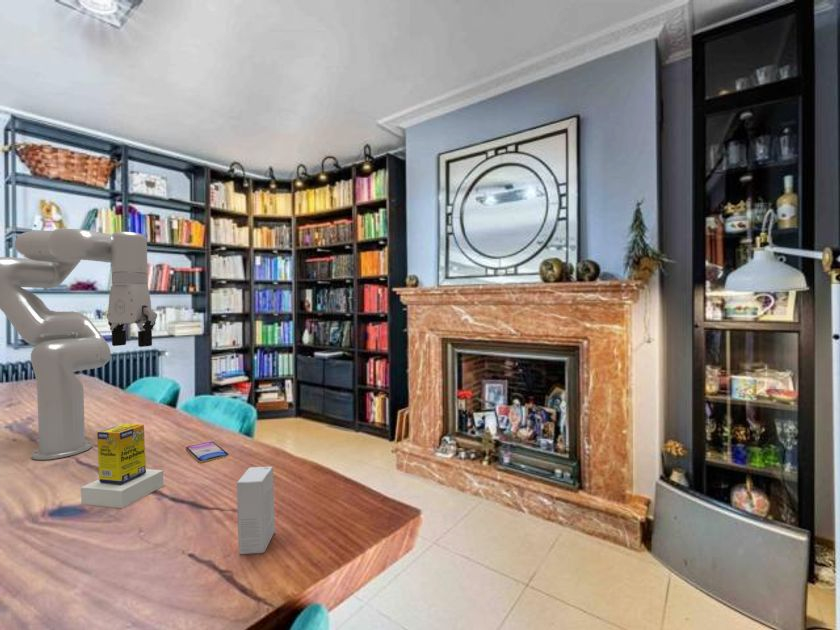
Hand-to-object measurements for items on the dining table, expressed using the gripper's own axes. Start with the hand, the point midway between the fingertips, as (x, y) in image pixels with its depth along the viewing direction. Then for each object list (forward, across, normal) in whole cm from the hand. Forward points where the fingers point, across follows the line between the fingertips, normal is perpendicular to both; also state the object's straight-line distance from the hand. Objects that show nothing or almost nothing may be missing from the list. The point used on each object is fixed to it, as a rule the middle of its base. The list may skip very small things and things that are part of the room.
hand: (132, 345), depth 102 cm
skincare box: (+31, +57, -19) cm, 67 cm away
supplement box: (+27, +17, -14) cm, 35 cm away
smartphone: (+31, +13, +10) cm, 35 cm away
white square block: (+31, +17, -14) cm, 38 cm away
